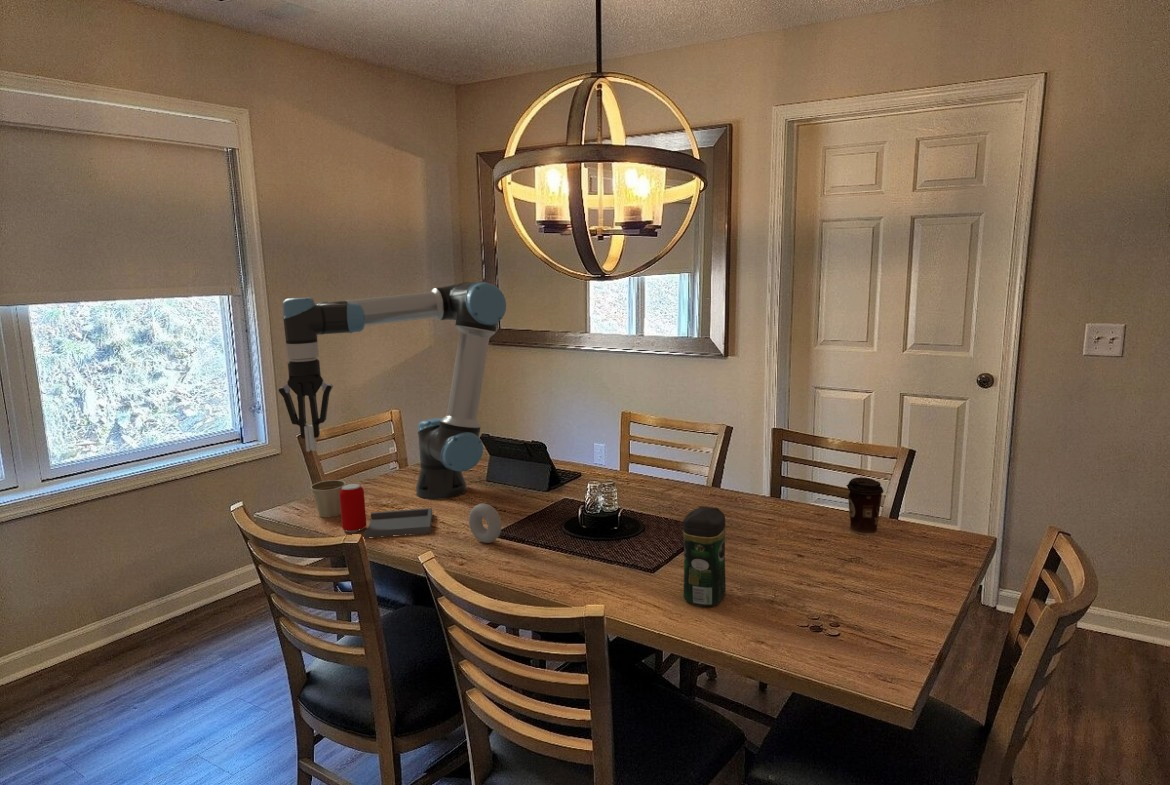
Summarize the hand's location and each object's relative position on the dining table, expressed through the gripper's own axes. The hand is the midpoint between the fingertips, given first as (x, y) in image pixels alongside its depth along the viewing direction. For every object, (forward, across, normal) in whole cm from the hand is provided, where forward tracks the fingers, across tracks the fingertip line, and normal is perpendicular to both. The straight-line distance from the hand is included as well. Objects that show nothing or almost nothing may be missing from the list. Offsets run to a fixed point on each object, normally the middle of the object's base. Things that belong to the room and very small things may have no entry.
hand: (311, 449), depth 187 cm
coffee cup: (+23, -137, +31) cm, 142 cm away
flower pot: (+23, 0, -14) cm, 27 cm away
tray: (+22, -21, 0) cm, 31 cm away
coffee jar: (+23, -86, +58) cm, 106 cm away
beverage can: (+23, -9, 0) cm, 24 cm away
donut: (+23, -43, +17) cm, 51 cm away
